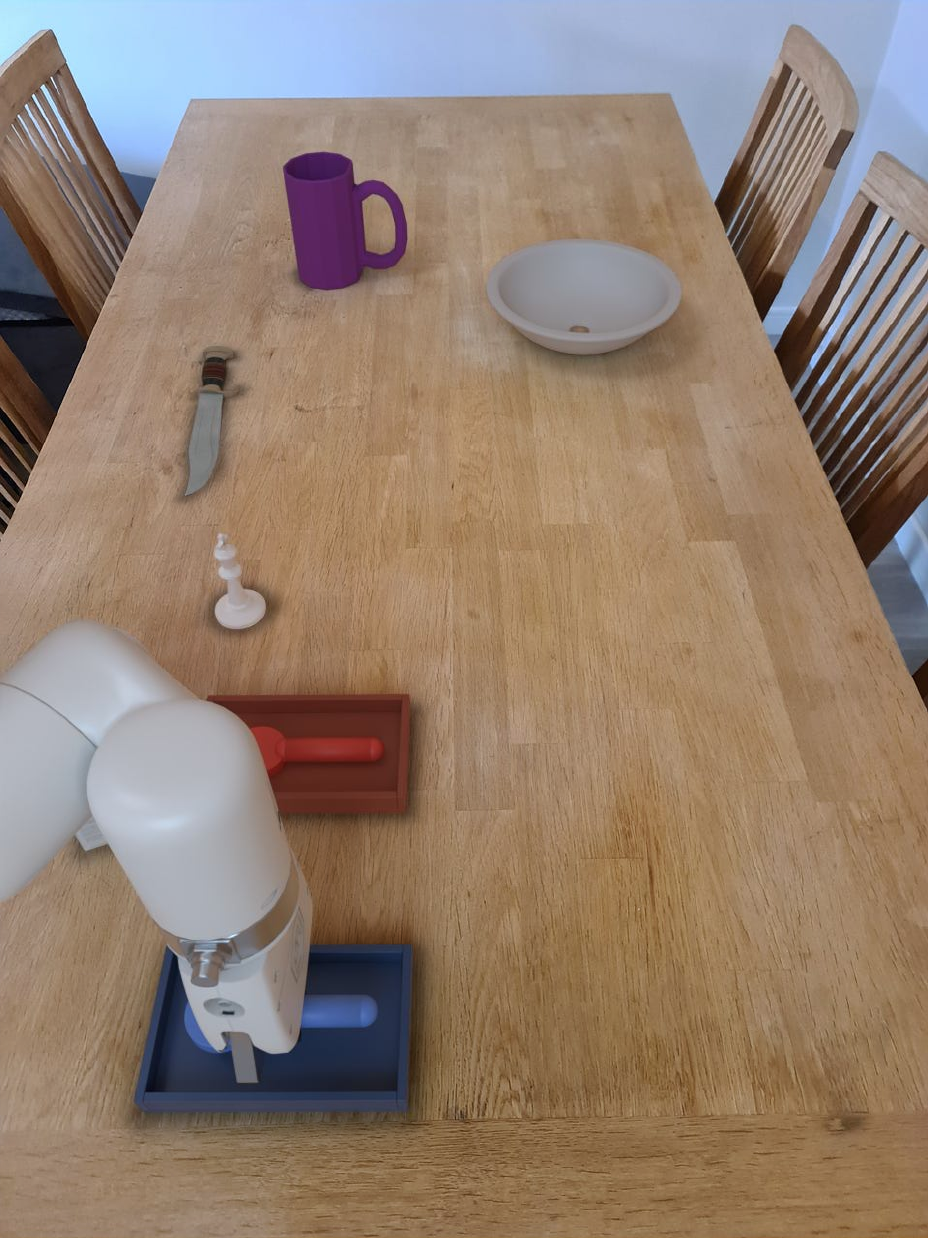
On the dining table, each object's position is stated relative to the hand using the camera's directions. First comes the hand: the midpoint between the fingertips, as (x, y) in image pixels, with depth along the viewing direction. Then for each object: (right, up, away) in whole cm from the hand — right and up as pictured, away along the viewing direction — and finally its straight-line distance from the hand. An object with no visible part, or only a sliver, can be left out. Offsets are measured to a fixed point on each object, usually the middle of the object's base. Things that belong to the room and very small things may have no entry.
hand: (280, 1016), depth 64 cm
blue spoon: (0, 0, 0) cm, 0 cm away
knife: (-17, +49, +49) cm, 71 cm away
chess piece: (-9, +27, +29) cm, 40 cm away
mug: (-3, +74, +71) cm, 102 cm away
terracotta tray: (-1, +14, +17) cm, 22 cm away
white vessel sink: (+27, +63, +60) cm, 91 cm away
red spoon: (-1, +15, +17) cm, 22 cm away
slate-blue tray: (0, -2, +2) cm, 3 cm away
